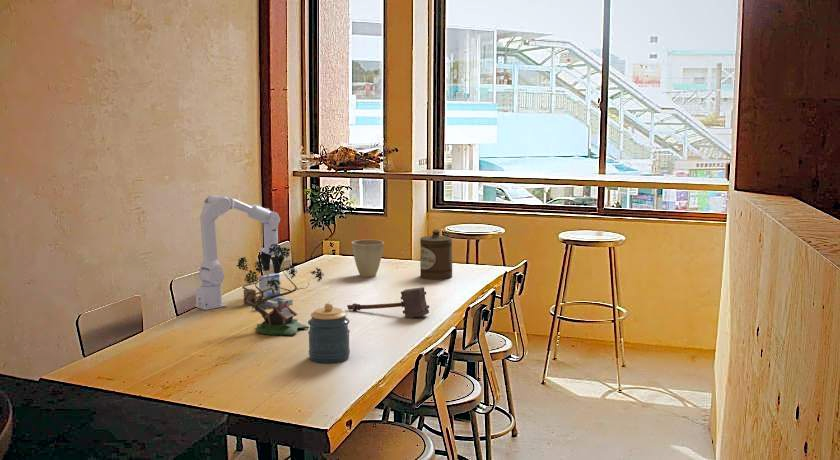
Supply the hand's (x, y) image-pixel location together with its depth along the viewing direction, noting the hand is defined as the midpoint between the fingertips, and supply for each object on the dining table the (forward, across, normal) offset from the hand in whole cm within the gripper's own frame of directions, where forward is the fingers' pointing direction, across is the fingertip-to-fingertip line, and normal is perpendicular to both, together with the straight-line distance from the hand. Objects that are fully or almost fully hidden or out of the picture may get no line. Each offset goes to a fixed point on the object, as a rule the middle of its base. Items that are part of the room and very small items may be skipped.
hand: (271, 272), depth 355 cm
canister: (+10, -87, +36) cm, 95 cm away
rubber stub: (+10, -17, +16) cm, 25 cm away
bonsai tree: (+10, -53, +30) cm, 62 cm away
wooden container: (+10, -18, -78) cm, 81 cm away
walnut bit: (+10, -8, +16) cm, 20 cm away
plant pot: (+10, +5, -56) cm, 57 cm away
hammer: (+10, -56, -14) cm, 59 cm away
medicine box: (+10, +2, 0) cm, 11 cm away
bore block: (+10, -14, +8) cm, 19 cm away
